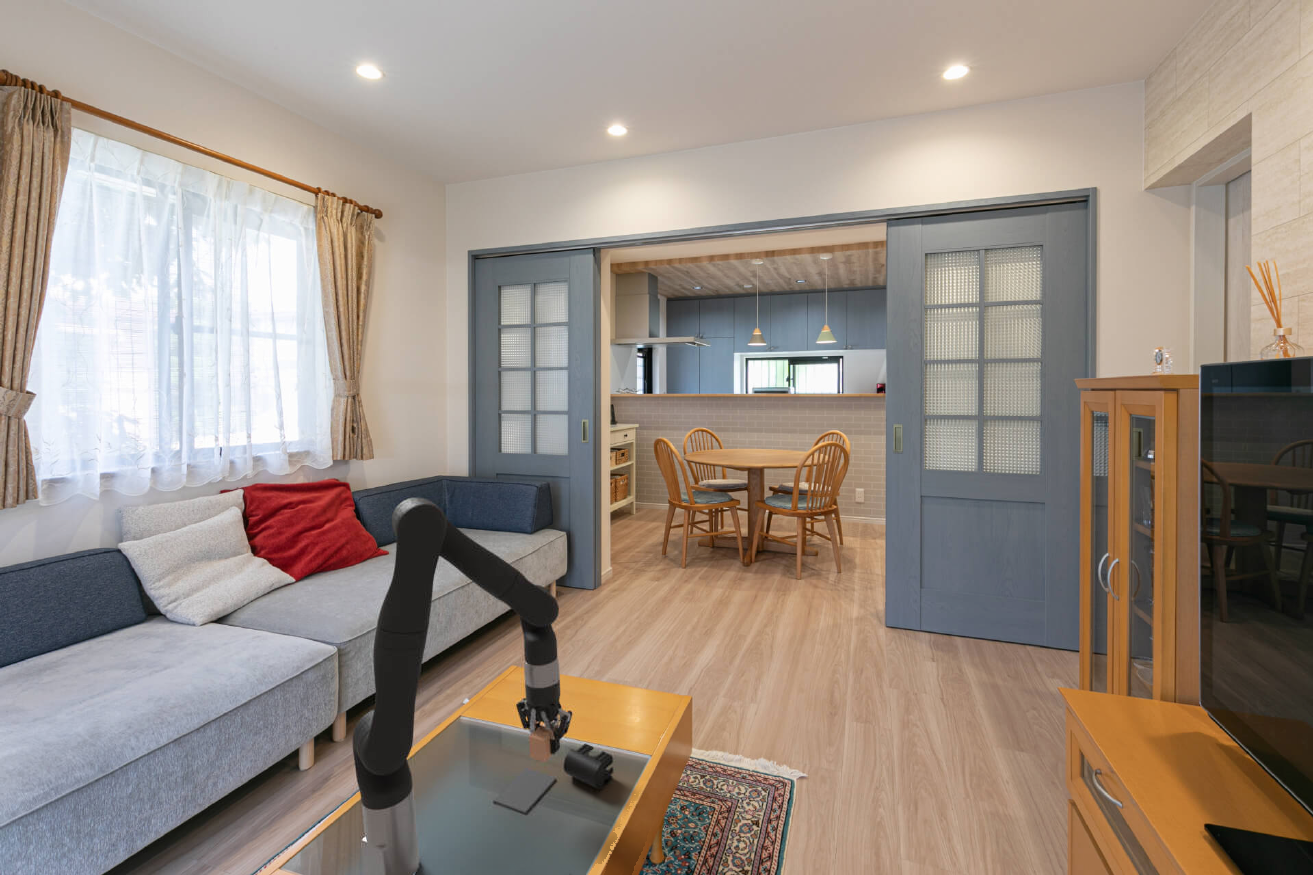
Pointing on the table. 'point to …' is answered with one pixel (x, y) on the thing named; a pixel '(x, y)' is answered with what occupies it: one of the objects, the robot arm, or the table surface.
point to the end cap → (589, 766)
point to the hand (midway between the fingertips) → (546, 748)
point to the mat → (524, 790)
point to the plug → (540, 744)
